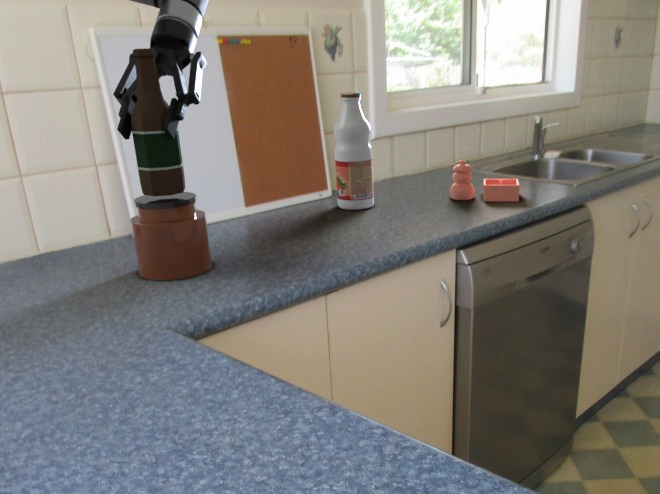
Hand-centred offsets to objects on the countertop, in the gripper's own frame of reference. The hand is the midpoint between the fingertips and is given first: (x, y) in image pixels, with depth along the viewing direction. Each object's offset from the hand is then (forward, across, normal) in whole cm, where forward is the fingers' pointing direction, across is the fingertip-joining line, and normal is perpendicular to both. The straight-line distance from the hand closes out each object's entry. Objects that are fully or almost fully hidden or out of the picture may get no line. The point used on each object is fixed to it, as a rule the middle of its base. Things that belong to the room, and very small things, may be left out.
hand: (145, 134), depth 112 cm
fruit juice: (-23, -23, -59) cm, 67 cm away
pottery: (-32, -55, -67) cm, 93 cm away
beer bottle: (+5, 0, -10) cm, 11 cm away
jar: (+15, 0, -20) cm, 25 cm away
